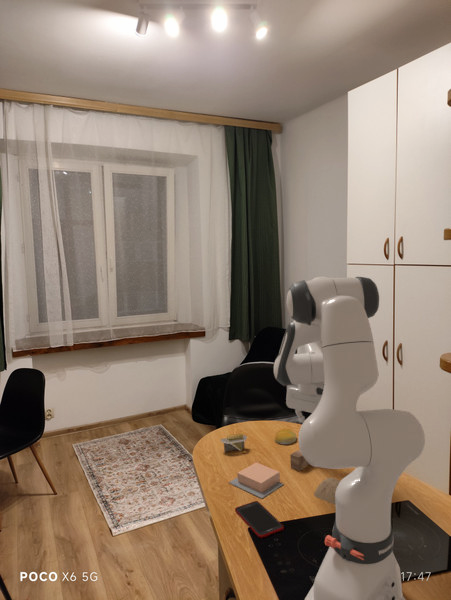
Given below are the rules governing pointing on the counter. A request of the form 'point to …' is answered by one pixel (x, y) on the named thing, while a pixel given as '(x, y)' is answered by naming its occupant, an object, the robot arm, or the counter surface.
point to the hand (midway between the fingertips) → (312, 424)
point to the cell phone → (259, 519)
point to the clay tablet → (327, 490)
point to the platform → (234, 442)
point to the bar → (298, 461)
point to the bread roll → (285, 436)
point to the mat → (255, 492)
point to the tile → (258, 477)
